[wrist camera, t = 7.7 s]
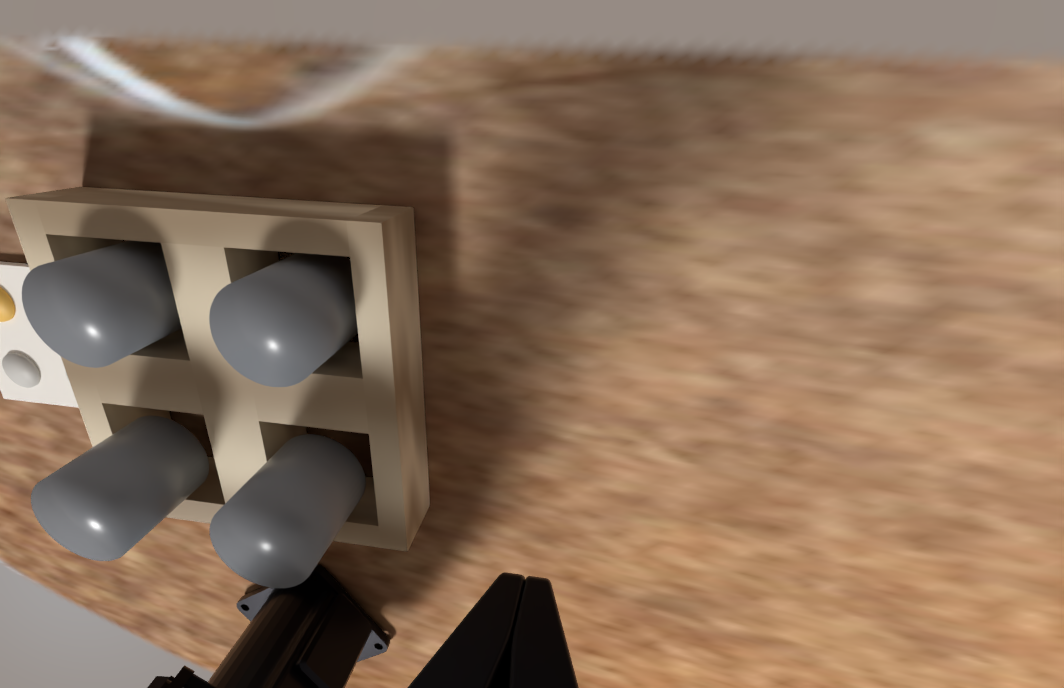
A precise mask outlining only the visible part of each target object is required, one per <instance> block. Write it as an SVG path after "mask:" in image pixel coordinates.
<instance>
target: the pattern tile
mask: <svg viewBox="0 0 1064 688" xmlns="http://www.w3.org/2000/svg"><path fill="white" fill-rule="evenodd" d="M29 272H30V268H29V266H28V264H25V263H12V262H0V390H1V393H2V395H3V398H4V399H11V400H19V401H28V402H36V403H45V404H53V405H62V406H70V407H78V404H77V401H76V398H75V396H74V393H73V390H72V387H71V384H70V381H69V379H68V376H67V373H66V370H65V367H64V364H63V362H62V359H61V356H60V355H58V354H57V353H56V352H54V351H53V350H52V349H51V348H50V347H49V346H47V345H46V344H45V343H44V342H43V340H42V339H41V338H40V337H39V336H38V335H37V333H36V332H35V330H34V329H33V327H32V326H31V324H30V322H29V320H28V318H27V316H26V313H25V310H24V307H23V303H22V286H23V282H24V280H25V278H26V276H27V275H28V273H29Z"/></svg>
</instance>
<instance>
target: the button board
mask: <svg viewBox="0 0 1064 688" xmlns="http://www.w3.org/2000/svg"><path fill="white" fill-rule="evenodd" d="M5 201H6V203H7V206H8V209H9V212H10V215H11V218H12V220H13V223H14V226H15V229H16V232H17V235H18V237H19V240H20V243H21V246H22V249H23V252H24V254H25V257H26V260H27V263H28V266H29V268H30V271H31V270H32V269H34V268H35V267H37V266H40V265H43V264H46V263H50V262H53V261H57V260H61V259H64V258H68V257H72V256H75V255H79V254H82V253H86V252H90V251H93V250H97V249H101V248H104V247H108V246H112V245H115V244H119V243H122V240H131V241H145V242H158V243H161V245H162V250H163V254H164V258H165V262H166V266H167V270H168V274H169V278H170V282H171V286H172V290H173V294H174V298H175V302H176V306H177V310H178V314H179V318H180V322H181V326H182V329H180V330H178V331H176V332H174V333H172V334H170V335H168V336H166V337H164V338H162V339H160V340H158V341H156V342H154V343H152V344H150V345H148V346H146V347H144V348H142V349H140V350H138V351H136V352H134V353H132V354H130V355H128V356H126V357H124V358H122V359H120V360H118V361H116V362H114V363H112V364H110V365H108V366H105V367H99V368H91V367H85V366H81V365H78V364H75V363H73V362H70V361H68V360H67V359H65V358H63V357H61V359H62V362H63V364H64V367H65V370H66V373H67V376H68V379H69V381H70V384H71V387H72V390H73V393H74V396H75V398H76V401H77V404H78V407H79V410H80V412H81V415H82V418H83V421H84V424H85V427H86V429H87V432H88V435H89V438H90V441H91V444H92V446H93V447H94V446H96V445H97V444H99V443H100V442H102V441H103V440H105V439H107V438H108V437H110V436H111V435H113V434H114V433H116V432H117V431H119V430H120V429H122V428H124V427H125V426H127V425H128V424H130V423H131V422H133V421H134V420H136V419H138V418H140V417H143V416H160V417H164V418H168V419H170V420H171V416H170V413H169V411H177V412H185V413H194V414H202V415H204V419H205V423H206V427H207V431H208V435H209V439H210V443H211V447H212V451H213V455H214V457H208V461H209V473H208V476H207V478H206V480H205V481H204V483H203V484H202V485H201V486H199V487H198V488H197V489H196V490H195V491H194V492H193V493H192V494H191V495H189V496H188V497H187V498H186V499H185V500H184V501H183V502H182V503H181V504H179V505H178V506H177V507H176V508H175V509H174V510H173V511H172V512H171V513H170V514H168V515H167V516H166V517H168V518H175V519H182V520H189V521H196V522H203V523H211V520H212V518H213V516H214V515H215V514H216V513H217V511H218V510H219V509H220V508H221V507H222V506H223V505H224V504H225V503H226V502H227V501H228V500H229V499H230V498H231V497H232V496H233V495H234V494H235V493H236V492H237V491H238V490H239V489H240V488H241V487H242V486H243V485H244V484H245V483H246V482H247V481H248V480H249V479H250V478H251V477H252V476H253V475H254V474H255V473H256V472H257V471H258V470H259V469H260V468H261V467H262V466H263V465H264V464H265V463H266V462H267V461H268V460H269V459H270V458H271V457H272V456H273V455H274V454H275V453H276V452H277V451H278V450H279V449H280V448H281V447H282V446H283V445H284V444H285V443H286V442H287V441H289V440H290V439H292V438H294V437H296V436H299V435H304V434H307V431H306V427H314V428H323V429H331V430H340V431H349V432H357V433H366V434H369V441H370V450H371V459H372V469H373V478H372V477H365V479H366V486H365V491H364V494H363V496H362V498H361V499H360V501H359V502H358V504H357V505H356V507H355V508H354V510H353V511H352V513H351V514H350V516H349V517H348V519H347V520H346V522H345V523H344V525H343V526H342V528H341V529H340V531H339V532H338V534H337V535H336V537H335V538H334V540H333V541H336V542H343V543H350V544H357V545H364V546H371V547H378V548H385V549H392V550H399V551H406V552H408V550H409V548H410V546H411V544H412V542H413V540H414V538H415V535H416V533H417V531H418V529H419V527H420V525H421V523H422V521H423V519H424V517H425V515H426V513H427V510H428V508H429V506H430V494H429V476H428V458H427V440H426V422H425V404H424V386H423V368H422V350H421V332H420V313H419V295H418V277H417V259H416V241H415V223H414V207H403V206H387V205H370V204H354V203H338V202H321V201H305V200H289V199H272V198H256V197H240V196H223V195H207V194H191V193H174V192H158V191H142V190H125V189H109V188H93V187H76V188H69V189H63V190H56V191H49V192H43V193H36V194H30V195H23V196H16V197H10V198H5ZM278 251H280V252H293V253H307V254H320V255H334V256H347V257H350V261H351V271H352V280H353V290H354V299H355V308H356V318H357V327H358V337H359V343H355V342H347V343H346V344H345V345H344V346H343V347H342V348H340V349H339V350H338V351H337V352H336V353H335V354H334V355H332V356H331V357H330V358H329V359H328V360H327V361H325V362H324V363H323V364H322V365H321V366H320V367H318V368H317V369H316V370H315V371H314V372H313V373H312V374H310V375H309V376H308V377H307V378H306V379H304V380H303V381H301V382H300V383H298V384H295V385H292V386H288V387H270V386H265V385H262V384H259V383H256V382H254V381H252V380H250V379H248V378H246V377H244V376H243V375H241V374H240V373H239V372H237V371H236V370H235V369H234V368H233V367H232V366H231V365H230V364H229V363H228V362H227V361H226V360H225V359H224V357H223V356H222V355H221V353H220V352H219V350H218V348H217V346H216V344H215V342H214V340H213V337H212V334H211V330H210V324H209V314H210V308H211V304H212V302H213V300H214V298H215V296H216V295H217V293H218V292H219V291H220V290H221V289H222V288H224V287H225V286H226V285H228V284H230V283H232V282H234V281H237V280H239V279H241V278H243V277H245V276H248V275H250V274H252V273H254V272H256V271H259V270H261V269H263V268H265V267H267V266H270V265H272V264H274V263H276V262H278V261H279V257H278Z"/></svg>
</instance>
